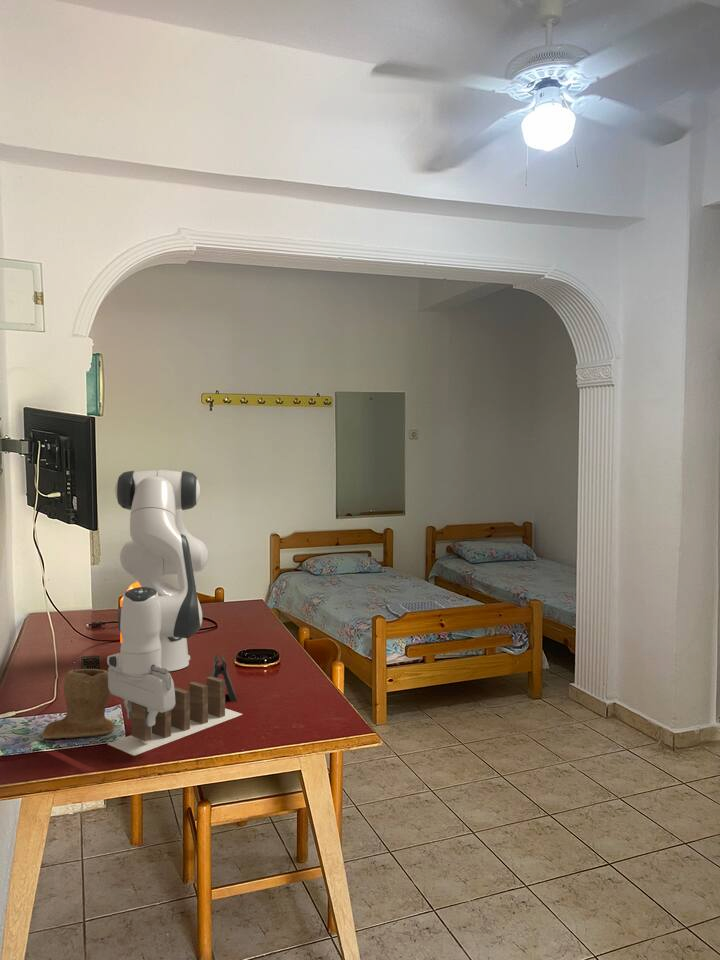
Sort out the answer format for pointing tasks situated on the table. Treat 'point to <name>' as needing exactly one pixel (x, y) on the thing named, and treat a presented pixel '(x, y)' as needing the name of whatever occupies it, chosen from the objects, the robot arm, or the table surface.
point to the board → (140, 746)
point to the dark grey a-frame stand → (222, 670)
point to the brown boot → (83, 706)
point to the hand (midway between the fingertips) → (141, 721)
